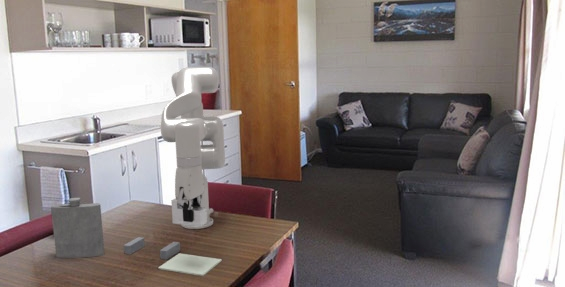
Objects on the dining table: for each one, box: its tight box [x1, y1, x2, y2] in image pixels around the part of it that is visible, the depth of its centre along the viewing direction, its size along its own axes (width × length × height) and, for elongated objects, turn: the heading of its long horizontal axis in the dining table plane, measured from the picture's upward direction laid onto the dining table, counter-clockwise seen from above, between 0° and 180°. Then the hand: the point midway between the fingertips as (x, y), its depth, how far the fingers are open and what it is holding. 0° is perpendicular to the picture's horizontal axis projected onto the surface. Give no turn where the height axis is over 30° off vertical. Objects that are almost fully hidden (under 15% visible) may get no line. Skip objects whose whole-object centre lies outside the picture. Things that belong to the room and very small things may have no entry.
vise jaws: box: [123, 236, 181, 261], centre depth 171 cm, size 8×17×3 cm, turn 69°
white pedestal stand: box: [171, 197, 207, 227], centre depth 157 cm, size 4×10×8 cm, turn 69°
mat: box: [158, 252, 223, 277], centre depth 161 cm, size 12×16×1 cm
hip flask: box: [50, 197, 106, 259], centre depth 169 cm, size 16×4×20 cm, turn 93°
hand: (192, 218), depth 157 cm, fingers closed on white pedestal stand, 4 cm apart
